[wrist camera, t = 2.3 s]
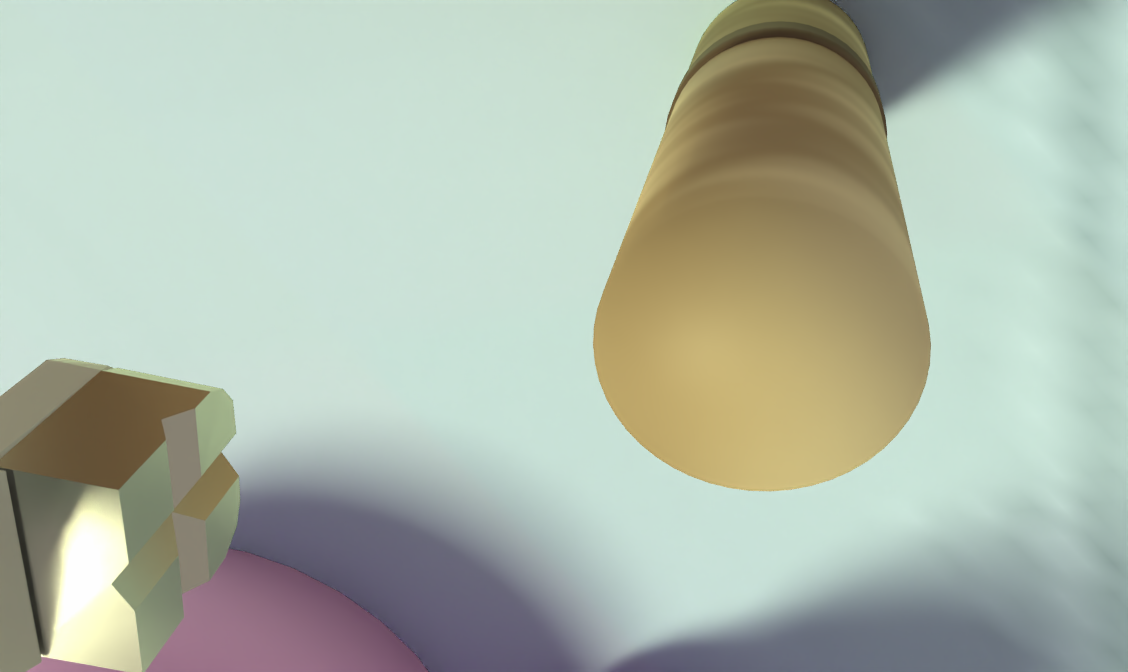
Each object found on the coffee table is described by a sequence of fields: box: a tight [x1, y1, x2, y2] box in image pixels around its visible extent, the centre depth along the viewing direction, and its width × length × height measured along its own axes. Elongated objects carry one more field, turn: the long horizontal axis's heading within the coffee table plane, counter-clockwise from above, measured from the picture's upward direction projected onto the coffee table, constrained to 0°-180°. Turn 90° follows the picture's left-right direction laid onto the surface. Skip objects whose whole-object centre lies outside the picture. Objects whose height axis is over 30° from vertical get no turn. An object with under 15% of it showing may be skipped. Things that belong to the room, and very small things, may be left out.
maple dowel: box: [593, 0, 931, 491], centre depth 17 cm, size 4×4×12 cm
